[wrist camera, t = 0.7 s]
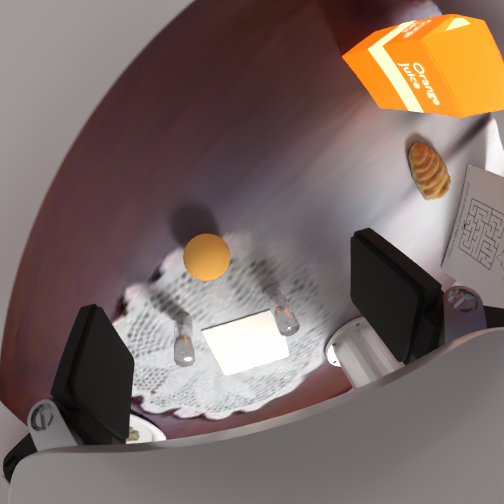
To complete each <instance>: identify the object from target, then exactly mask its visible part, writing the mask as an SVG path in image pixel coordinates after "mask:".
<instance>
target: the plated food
mask: <svg viewBox="0 0 504 504" xmlns="http://www.w3.org/2000/svg"><path fill="white" fill-rule="evenodd" d="M163 440H166V437H165V435H164V434H163V432H162V431H161V430H160V429H158V428H157V427H156V426H155V425H153V424H151V423H150V422H148V421H146V420H144V419H142V418H140V417H138V416H136V415H133V414H130V427H129V437H128V438H127V439H126V444H130V443H144V442H154V441H163Z"/></svg>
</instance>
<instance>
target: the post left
mask: <svg viewBox="0 0 504 504" xmlns="http://www.w3.org/2000/svg"><path fill="white" fill-rule="evenodd" d="M174 361H175V363H176V364H177V365H179V366H184V367H186V366H190V365H192V364H193V363H194V362H195V355H194V341H193V326H192V317H191V316H190V315H189V314H187V313H179V314H177V315H176V316H175V321H174Z"/></svg>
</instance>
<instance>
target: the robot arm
mask: <svg viewBox="0 0 504 504" xmlns="http://www.w3.org/2000/svg"><path fill="white" fill-rule="evenodd" d="M350 242H351V292H350V294H351V299H352V302H353V303H354V305H355V306H356V307H357V309H358V310H359V311H360V312H361V314H362V315H363V316H362V317H359V318H356V319H353V320H352V321H350V322H348V323H346V324H345V325H343V326H342V327H341V328H340V329H339V330H337V331H336V332H335V334H334V335H333V336H332V337H331V339H330V340H329V342H328V344H327V347H326V352H325V354H326V357H327V359H328V361H329V362H330V363H331V364H333V365H335V366H341V367H342V369H343V371H344V373H345V374H346V376H347V378H348V380H349V382H350V383H351V385H352V387H353V389H354V390H353V391H350V392H347V393H345V394H342V395H340V396H337V397H335V398H332V399H330V400H327V401H324V402H321V403H319V404H316V405H313V406H310V407H307V408H304V409H301V410H298V411H295V412H292V413H289V414H286V415H283V416H279V417H276V418H272V419H269V420H265V421H262V422H258V423H254V424H250V425H246V426H242V427H238V428H233V429H229V430H224V431H219V432H214V433H209V434H204V435H198V436H192V437H186V438H179V439H171V440H163V441H154V442H144V443H130V444H126V439H127V438H128V437H129V427H130V409H131V395H132V384H133V373H134V358H133V356H132V354H131V353H130V351H129V350H128V348H127V347H126V345H125V344H124V342H123V341H122V339H121V338H120V336H119V335H118V333H117V332H116V330H115V328H114V327H113V325H112V324H111V322H110V320H109V319H108V317H107V315H106V314H105V312H104V310H103V309H102V308H101V307H98V306H97V305H96V304H91V305H88V306H84V307H81V308H80V310H79V313H78V315H77V317H76V320H75V322H74V325H73V328H72V330H71V333H70V335H69V338H68V341H67V343H66V346H65V349H64V352H63V355H62V358H61V361H60V364H59V367H58V370H57V373H56V376H55V379H54V383H53V386H52V389H51V393H50V394H51V395H52V396H53V397H54V402H53V401H51V400H42V401H40V402H38V403H37V404H36V405H35V406H34V407H33V408H32V409H31V411H30V413H29V416H28V428H29V431H30V433H29V434H28V435H26V436H25V437H24V438H23V439H22V440H21V441H20V442H19V443H18V444H17V445H16V446H15V447H14V448H13V449H12V450H11V451H10V452H9V453H8V454H7V456H6V457H5V458H4V462H3V471H4V475H5V477H4V476H1V478H0V504H504V308H498V307H491V306H485V305H483V302H482V300H481V297H480V296H479V295H478V293H477V292H475V291H474V290H473V289H471V288H468V287H465V286H453V287H450V288H448V289H447V290H446V291H445V293H444V292H443V291H442V290H441V286H442V285H441V284H440V283H439V282H438V281H436V280H435V279H434V278H433V277H432V276H431V275H429V274H428V273H427V272H426V271H425V270H423V269H422V268H421V267H420V266H418V265H417V264H416V263H415V262H414V261H412V260H411V259H410V258H409V257H407V256H406V255H405V254H404V253H402V252H401V251H400V250H398V249H397V248H396V247H395V246H393V245H392V244H391V243H389V242H388V241H387V240H386V239H384V238H383V237H382V236H380V235H379V234H378V233H376V232H375V231H374V230H372V229H371V228H366V229H363V230H359V231H356V232H355V233H354V236H353V237H351V241H350ZM402 362H403V363H402ZM404 365H405V366H404Z"/></svg>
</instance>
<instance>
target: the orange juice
mask: <svg viewBox="0 0 504 504" xmlns="http://www.w3.org/2000/svg"><path fill="white" fill-rule="evenodd" d="M342 57H343V59H344V60H345V61H346V62H347V64H348V65H349V66H350V67H351V69H352V70H353V71H354V73H355V74H356V75H357V76H358V78H359V79H360V80H361V82H362V83H363V84H364V86H365V87H366V89H367V90H368V91H369V93H370V94H371V96H372V97H373V99H374V100H375V101H376V103H377V104H378V106H379V107H380V108H388V109H400V110H409V111H416V112H428V113H435V114H442V115H448V116H454V117H460V118H464V117H467V116H472V115H476V114H481V113H486V112H492V111H496V110H502V109H504V62H503V60H502V57H501V55H500V53H499V50H498V48H497V46H496V44H495V42H494V39H493V37H492V35H491V33H490V31H489V29H488V27H487V25H486V23H485V21H483V20H479V19H474V18H470V17H465V16H460V15H455V14H449V15H443V16H437V17H432V18H427V19H422V20H417V21H416V20H415V21H411V22H407V23H403V24H401V25H397V26H393V27H389V28H386V29H382V30H379V31H376V32H374V33H372V34H371V35H370V36H368V37H367V38H365V39H364V40H363V41H361V42H360V43H359V44H357V45H356V46H355V47H353V48H352V49H351V50H350V51H348V52H347V53H346V54H344V55H343V56H342Z"/></svg>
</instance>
